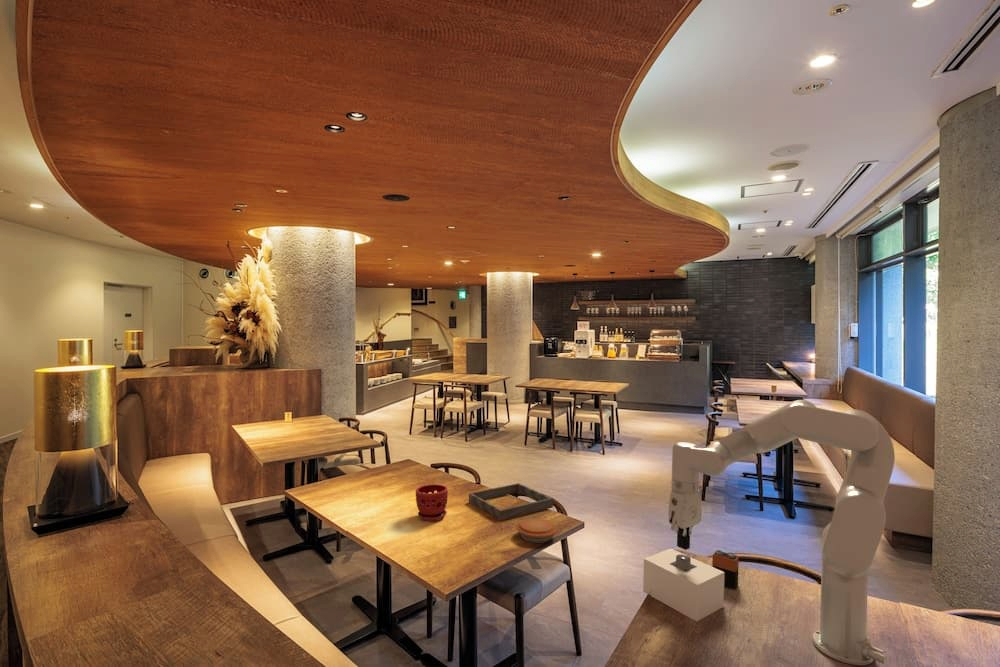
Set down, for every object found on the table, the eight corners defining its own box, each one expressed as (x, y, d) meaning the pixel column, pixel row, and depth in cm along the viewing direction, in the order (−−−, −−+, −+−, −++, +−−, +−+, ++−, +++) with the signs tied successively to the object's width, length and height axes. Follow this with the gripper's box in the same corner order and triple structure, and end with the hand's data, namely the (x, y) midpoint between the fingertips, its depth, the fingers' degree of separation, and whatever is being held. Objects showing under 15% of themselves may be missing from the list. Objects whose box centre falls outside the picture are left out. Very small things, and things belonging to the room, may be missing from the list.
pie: (555, 547, 177) (555, 534, 177) (512, 543, 181) (512, 529, 180) (558, 530, 193) (558, 518, 192) (519, 526, 196) (519, 514, 196)
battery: (734, 590, 150) (735, 558, 150) (711, 583, 154) (712, 551, 154) (738, 584, 154) (739, 553, 154) (715, 577, 158) (716, 546, 158)
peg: (692, 585, 144) (693, 558, 144) (684, 589, 142) (685, 562, 142) (680, 579, 148) (681, 553, 147) (672, 583, 145) (673, 556, 145)
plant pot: (450, 512, 209) (450, 483, 209) (443, 524, 196) (444, 494, 196) (420, 510, 211) (420, 482, 211) (411, 522, 198) (412, 492, 197)
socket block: (723, 606, 141) (724, 572, 141) (696, 621, 134) (697, 585, 134) (670, 579, 156) (670, 548, 156) (643, 591, 149) (643, 558, 148)
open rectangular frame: (552, 507, 217) (552, 498, 217) (500, 520, 201) (500, 511, 201) (518, 491, 237) (518, 483, 237) (468, 502, 221) (469, 493, 221)
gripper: (680, 493, 137) (678, 559, 137) (711, 484, 146) (709, 546, 146) (658, 486, 143) (656, 548, 144) (689, 478, 152) (687, 537, 152)
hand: (683, 547), depth 145 cm, fingers closed
